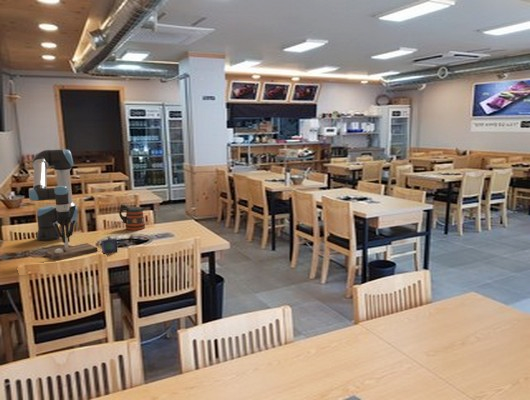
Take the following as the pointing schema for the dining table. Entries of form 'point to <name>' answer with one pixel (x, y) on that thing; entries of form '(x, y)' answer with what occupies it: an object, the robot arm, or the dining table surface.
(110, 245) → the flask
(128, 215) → the beer stein
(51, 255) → the board
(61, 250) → the ball
